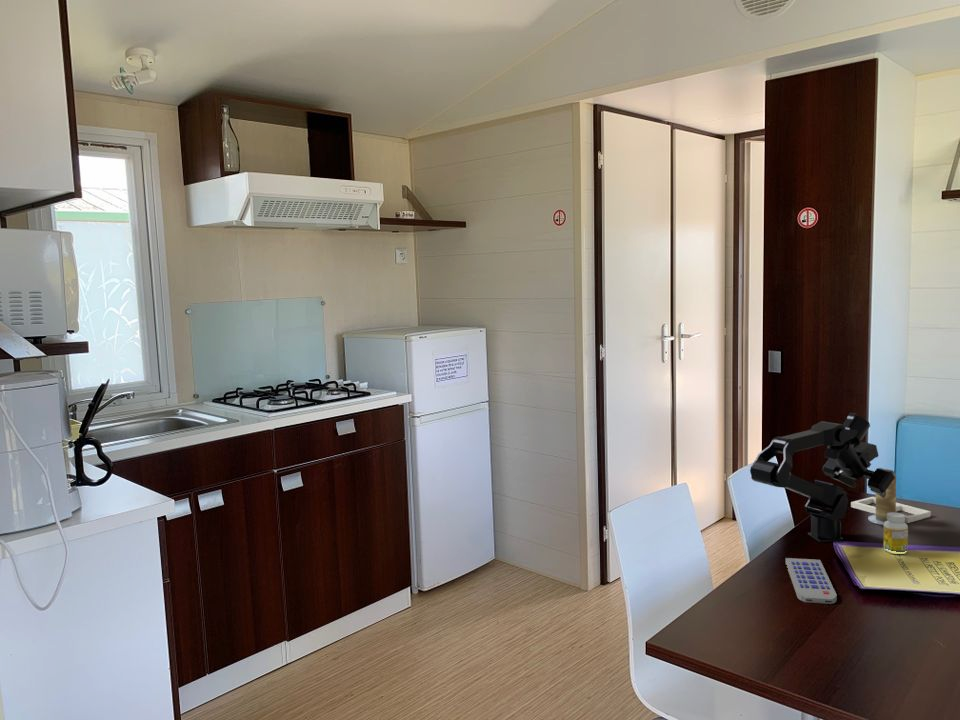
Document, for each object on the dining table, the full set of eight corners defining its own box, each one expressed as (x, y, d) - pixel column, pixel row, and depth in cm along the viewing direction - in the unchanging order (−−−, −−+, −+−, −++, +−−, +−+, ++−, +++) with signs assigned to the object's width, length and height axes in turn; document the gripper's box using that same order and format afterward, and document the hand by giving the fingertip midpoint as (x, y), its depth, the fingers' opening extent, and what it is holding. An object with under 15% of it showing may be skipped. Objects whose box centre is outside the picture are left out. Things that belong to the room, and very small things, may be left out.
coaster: (881, 527, 206) (881, 525, 206) (861, 517, 215) (861, 515, 215) (911, 524, 207) (911, 523, 207) (890, 514, 216) (890, 513, 216)
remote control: (820, 567, 182) (820, 558, 182) (838, 606, 160) (838, 596, 160) (785, 565, 184) (785, 556, 184) (798, 603, 163) (798, 593, 162)
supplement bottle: (909, 556, 185) (910, 518, 184) (885, 554, 187) (885, 517, 186) (905, 548, 190) (905, 512, 189) (881, 546, 192) (882, 510, 191)
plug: (883, 522, 208) (883, 473, 207) (871, 517, 213) (872, 469, 212) (899, 521, 209) (900, 472, 207) (887, 515, 214) (888, 468, 212)
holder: (908, 523, 208) (908, 517, 208) (851, 507, 224) (851, 502, 224) (930, 516, 212) (930, 511, 212) (873, 501, 229) (873, 496, 228)
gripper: (894, 442, 195) (916, 479, 201) (833, 427, 212) (856, 461, 218) (870, 474, 193) (894, 510, 199) (811, 456, 210) (835, 490, 216)
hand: (869, 491), depth 208 cm, fingers open, 9 cm apart
